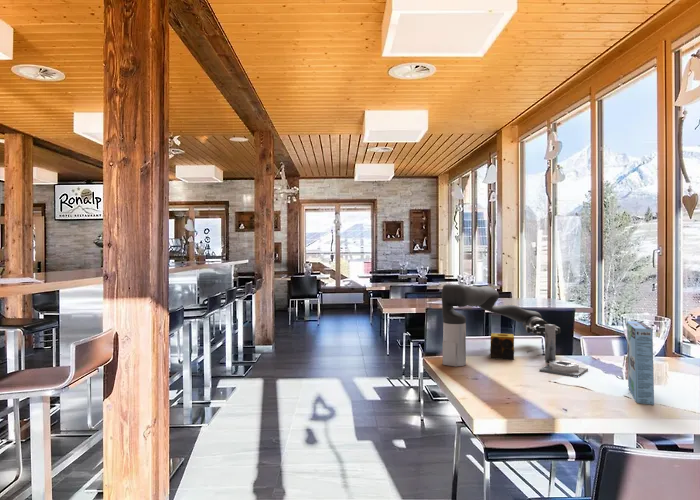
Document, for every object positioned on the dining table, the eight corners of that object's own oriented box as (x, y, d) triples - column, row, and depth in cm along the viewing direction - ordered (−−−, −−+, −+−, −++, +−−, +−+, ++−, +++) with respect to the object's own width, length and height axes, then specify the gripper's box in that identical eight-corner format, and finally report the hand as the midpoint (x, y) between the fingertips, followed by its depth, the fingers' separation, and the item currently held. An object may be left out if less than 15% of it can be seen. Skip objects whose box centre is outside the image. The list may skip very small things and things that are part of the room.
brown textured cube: (490, 358, 207) (489, 336, 208) (490, 354, 217) (490, 332, 217) (514, 360, 204) (514, 337, 205) (513, 355, 214) (513, 333, 214)
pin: (553, 364, 197) (553, 325, 197) (543, 362, 200) (543, 324, 200) (556, 362, 200) (556, 324, 200) (547, 361, 203) (546, 323, 203)
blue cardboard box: (654, 405, 142) (653, 329, 142) (634, 403, 144) (634, 328, 144) (644, 389, 159) (643, 321, 160) (626, 387, 161) (626, 320, 162)
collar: (577, 377, 175) (577, 369, 175) (539, 371, 184) (539, 363, 184) (588, 370, 186) (587, 362, 186) (551, 365, 195) (551, 357, 195)
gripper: (523, 318, 227) (529, 323, 211) (554, 318, 225) (563, 323, 209) (523, 333, 227) (529, 340, 211) (554, 334, 225) (563, 340, 209)
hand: (546, 332), depth 210 cm, fingers open, 8 cm apart
